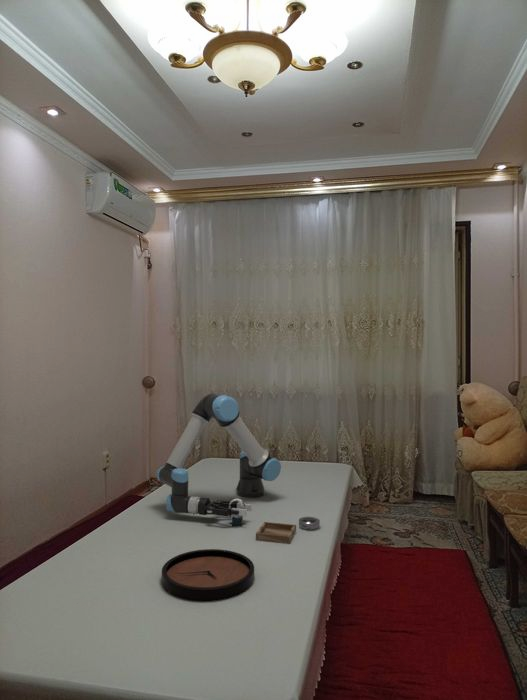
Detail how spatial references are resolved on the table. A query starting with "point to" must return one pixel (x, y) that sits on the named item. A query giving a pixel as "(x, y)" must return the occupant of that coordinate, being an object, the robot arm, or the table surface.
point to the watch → (237, 519)
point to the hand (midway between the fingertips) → (248, 510)
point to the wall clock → (207, 575)
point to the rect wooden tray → (276, 532)
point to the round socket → (309, 523)
